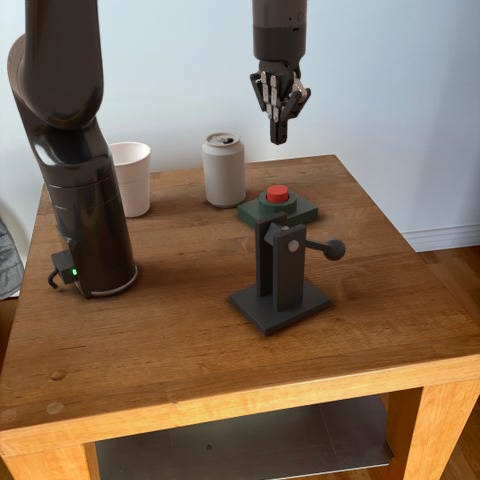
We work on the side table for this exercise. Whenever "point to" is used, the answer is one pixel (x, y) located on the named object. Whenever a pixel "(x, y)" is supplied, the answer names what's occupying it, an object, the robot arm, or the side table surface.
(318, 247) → the switch lever
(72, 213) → the robot arm
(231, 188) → the can
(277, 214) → the pivot lever stand
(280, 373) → the side table surface
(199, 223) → the side table surface
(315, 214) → the button base block
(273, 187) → the power button
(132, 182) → the cup
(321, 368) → the side table surface
